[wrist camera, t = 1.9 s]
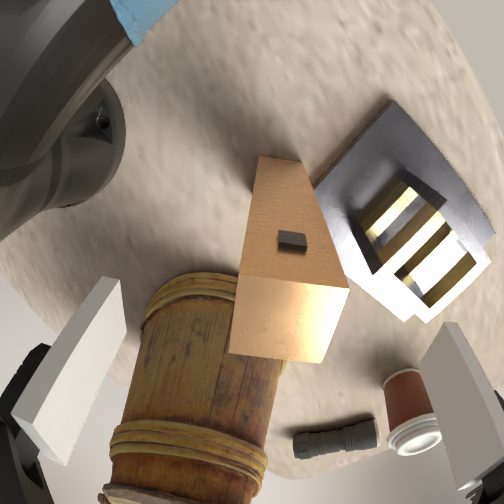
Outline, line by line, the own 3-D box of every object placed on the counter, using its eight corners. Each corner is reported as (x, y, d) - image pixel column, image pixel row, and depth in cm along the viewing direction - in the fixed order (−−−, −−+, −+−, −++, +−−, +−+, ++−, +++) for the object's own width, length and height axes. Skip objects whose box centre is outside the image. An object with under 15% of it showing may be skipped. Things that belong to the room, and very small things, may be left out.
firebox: (281, 220, 32) (284, 268, 24) (390, 100, 25) (434, 107, 17) (401, 316, 37) (423, 368, 29) (490, 228, 30) (533, 267, 22)
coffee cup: (437, 371, 42) (461, 431, 31) (397, 402, 46) (412, 461, 35) (406, 354, 40) (430, 422, 30) (362, 389, 44) (375, 455, 33)
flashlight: (295, 441, 53) (296, 465, 48) (290, 429, 51) (290, 454, 46) (375, 427, 50) (379, 450, 45) (375, 413, 48) (380, 438, 43)
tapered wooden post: (253, 195, 31) (228, 352, 13) (259, 152, 28) (239, 267, 11) (294, 202, 31) (320, 363, 13) (302, 159, 29) (351, 283, 11)
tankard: (319, 334, 39) (340, 533, 17) (200, 402, 47) (172, 544, 25) (211, 238, 33) (130, 479, 11) (106, 338, 42) (36, 487, 20)
